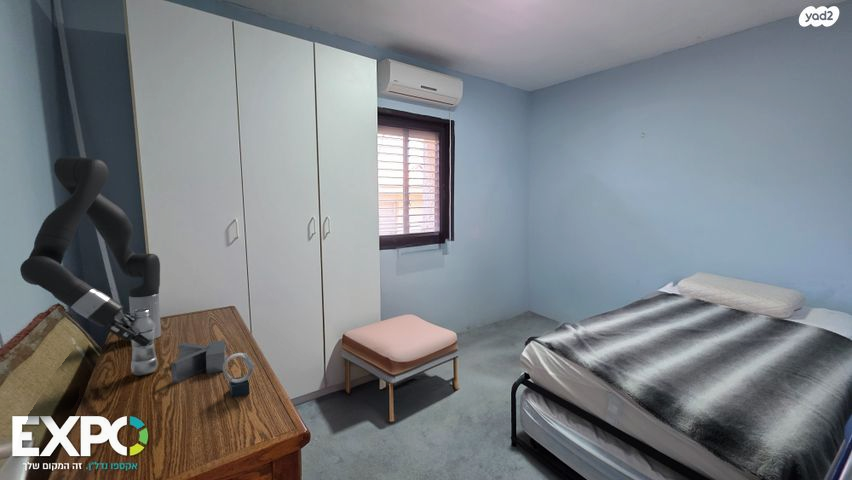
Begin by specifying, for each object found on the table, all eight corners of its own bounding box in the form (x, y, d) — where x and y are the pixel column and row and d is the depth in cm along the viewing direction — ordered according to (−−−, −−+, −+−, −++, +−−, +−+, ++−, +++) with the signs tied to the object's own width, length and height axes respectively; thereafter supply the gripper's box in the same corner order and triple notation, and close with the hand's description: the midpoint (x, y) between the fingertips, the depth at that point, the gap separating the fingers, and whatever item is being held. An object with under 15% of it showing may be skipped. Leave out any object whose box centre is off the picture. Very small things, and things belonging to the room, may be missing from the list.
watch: (257, 391, 102) (256, 354, 101) (224, 400, 98) (223, 360, 97) (253, 383, 107) (252, 347, 106) (222, 391, 102) (220, 353, 101)
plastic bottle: (143, 379, 109) (140, 314, 107) (125, 376, 110) (121, 312, 108) (163, 369, 115) (160, 308, 113) (145, 367, 116) (142, 306, 114)
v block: (179, 360, 122) (179, 343, 122) (226, 353, 128) (225, 336, 128) (171, 384, 106) (170, 364, 105) (224, 374, 112) (224, 356, 112)
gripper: (101, 303, 100) (155, 338, 107) (116, 292, 113) (164, 324, 120) (76, 324, 98) (134, 358, 105) (94, 310, 111) (144, 342, 118)
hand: (149, 340), depth 112 cm, fingers closed on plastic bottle, 6 cm apart
